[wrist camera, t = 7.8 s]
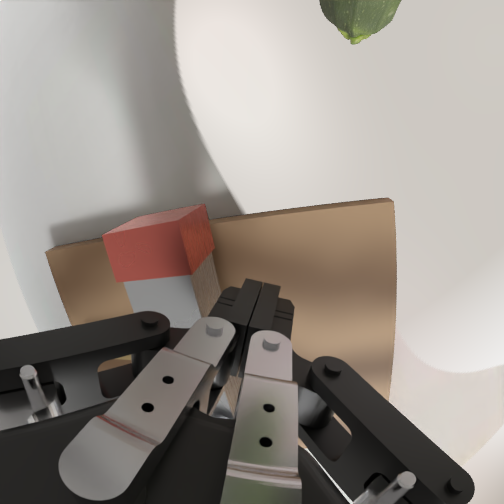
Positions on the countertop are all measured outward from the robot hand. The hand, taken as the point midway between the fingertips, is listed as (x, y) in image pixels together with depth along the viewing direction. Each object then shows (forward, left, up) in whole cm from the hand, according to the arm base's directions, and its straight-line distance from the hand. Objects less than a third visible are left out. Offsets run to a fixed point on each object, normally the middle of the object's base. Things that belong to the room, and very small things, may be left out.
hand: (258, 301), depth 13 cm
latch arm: (-3, +3, -1) cm, 4 cm away
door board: (-6, +4, -5) cm, 9 cm away
